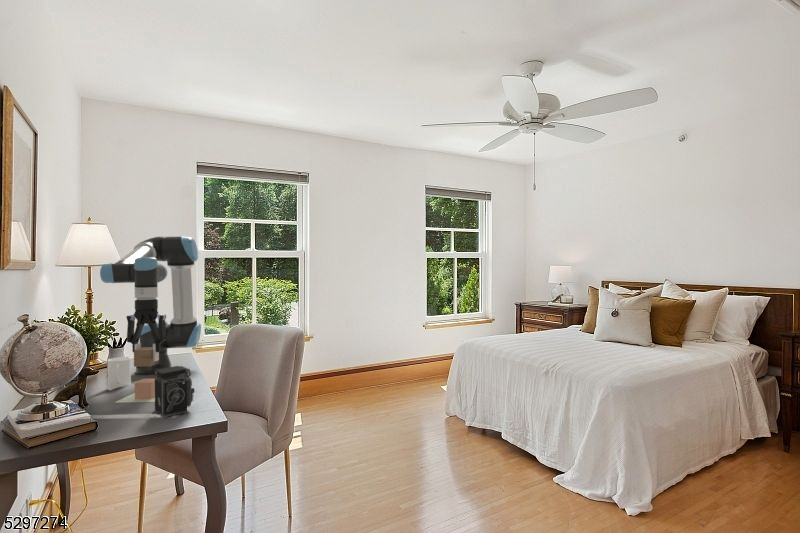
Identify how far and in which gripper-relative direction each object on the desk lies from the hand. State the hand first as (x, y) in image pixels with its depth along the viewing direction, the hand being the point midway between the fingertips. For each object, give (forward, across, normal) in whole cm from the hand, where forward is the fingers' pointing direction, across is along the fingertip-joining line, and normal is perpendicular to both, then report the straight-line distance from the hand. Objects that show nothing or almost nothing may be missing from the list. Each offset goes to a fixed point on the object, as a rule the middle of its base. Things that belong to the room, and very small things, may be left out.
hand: (146, 360), depth 169 cm
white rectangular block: (+15, -21, +17) cm, 31 cm away
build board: (+14, 0, 0) cm, 14 cm away
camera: (+15, +18, -16) cm, 28 cm away
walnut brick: (+1, 0, 0) cm, 1 cm away
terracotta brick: (+13, 0, 0) cm, 13 cm away
